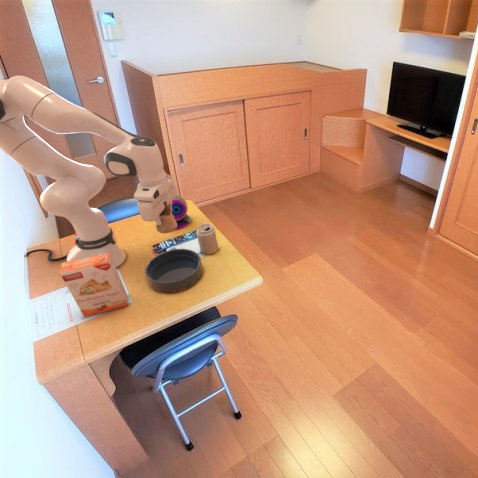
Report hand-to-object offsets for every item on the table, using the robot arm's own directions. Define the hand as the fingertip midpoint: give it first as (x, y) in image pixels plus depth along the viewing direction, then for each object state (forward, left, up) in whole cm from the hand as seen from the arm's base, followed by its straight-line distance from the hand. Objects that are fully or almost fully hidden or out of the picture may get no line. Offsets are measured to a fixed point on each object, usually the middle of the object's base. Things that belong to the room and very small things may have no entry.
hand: (164, 218), depth 130 cm
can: (+13, +8, -24) cm, 29 cm away
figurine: (0, 0, -5) cm, 5 cm away
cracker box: (-25, -14, -24) cm, 38 cm away
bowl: (-1, -5, -24) cm, 25 cm away
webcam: (0, +35, -24) cm, 42 cm away
